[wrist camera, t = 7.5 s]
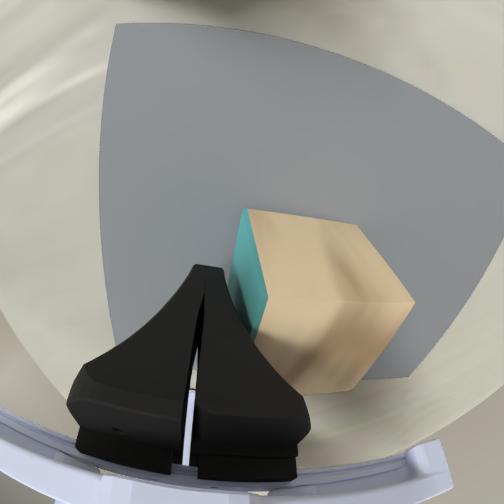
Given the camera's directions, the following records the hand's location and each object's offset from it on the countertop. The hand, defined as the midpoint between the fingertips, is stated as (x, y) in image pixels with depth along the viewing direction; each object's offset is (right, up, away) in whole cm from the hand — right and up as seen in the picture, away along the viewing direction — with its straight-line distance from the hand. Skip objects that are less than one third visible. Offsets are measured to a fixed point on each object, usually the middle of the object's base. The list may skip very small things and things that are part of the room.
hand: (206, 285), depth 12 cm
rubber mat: (+6, +1, +3) cm, 7 cm away
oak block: (+1, -1, 0) cm, 1 cm away
